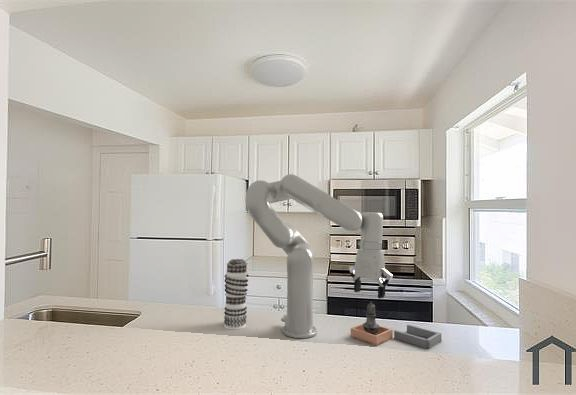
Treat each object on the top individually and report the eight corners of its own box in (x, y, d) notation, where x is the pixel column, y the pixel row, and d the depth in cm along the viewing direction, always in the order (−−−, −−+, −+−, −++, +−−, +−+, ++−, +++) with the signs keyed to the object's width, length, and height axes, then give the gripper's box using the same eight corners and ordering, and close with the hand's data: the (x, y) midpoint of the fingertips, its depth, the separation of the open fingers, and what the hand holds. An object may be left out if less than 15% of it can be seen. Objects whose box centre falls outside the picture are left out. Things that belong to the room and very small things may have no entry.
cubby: (394, 338, 109) (394, 330, 109) (408, 331, 116) (408, 324, 117) (428, 348, 100) (428, 340, 101) (441, 340, 108) (441, 333, 108)
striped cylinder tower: (229, 320, 125) (231, 257, 126) (250, 323, 122) (252, 259, 124) (218, 328, 116) (220, 260, 118) (241, 331, 113) (243, 261, 115)
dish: (350, 336, 110) (350, 328, 110) (367, 330, 117) (367, 321, 117) (376, 345, 102) (376, 336, 102) (392, 338, 109) (392, 329, 109)
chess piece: (380, 339, 106) (380, 303, 107) (362, 338, 107) (362, 302, 108) (378, 333, 112) (378, 299, 113) (362, 332, 113) (362, 298, 114)
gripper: (345, 244, 116) (342, 290, 114) (387, 249, 103) (385, 301, 102) (356, 243, 121) (354, 288, 119) (398, 249, 108) (396, 298, 107)
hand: (368, 294), depth 111 cm, fingers open, 9 cm apart
